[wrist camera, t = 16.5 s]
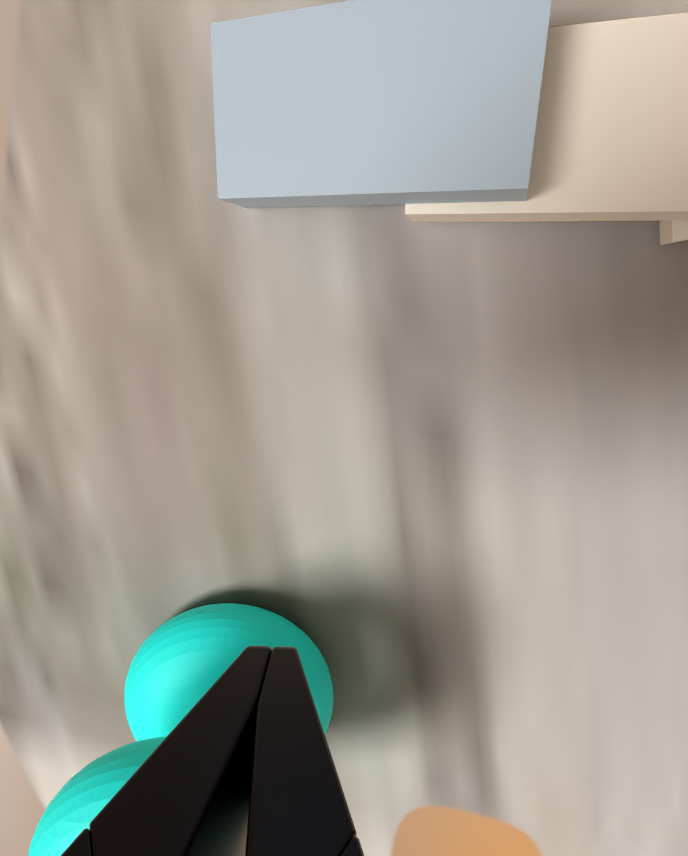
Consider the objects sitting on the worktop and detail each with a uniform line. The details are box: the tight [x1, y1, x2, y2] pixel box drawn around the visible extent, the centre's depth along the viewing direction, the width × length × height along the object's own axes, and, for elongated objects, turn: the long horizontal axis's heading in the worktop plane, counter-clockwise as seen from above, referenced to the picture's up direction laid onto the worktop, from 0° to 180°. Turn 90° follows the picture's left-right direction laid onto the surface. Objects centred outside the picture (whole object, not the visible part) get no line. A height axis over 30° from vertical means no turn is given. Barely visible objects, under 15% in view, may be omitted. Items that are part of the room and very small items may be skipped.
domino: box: [210, 0, 552, 208], centre depth 15 cm, size 2×5×10 cm
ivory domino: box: [405, 12, 688, 222], centre depth 15 cm, size 2×5×10 cm
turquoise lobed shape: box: [28, 603, 333, 856], centre depth 20 cm, size 10×10×10 cm
